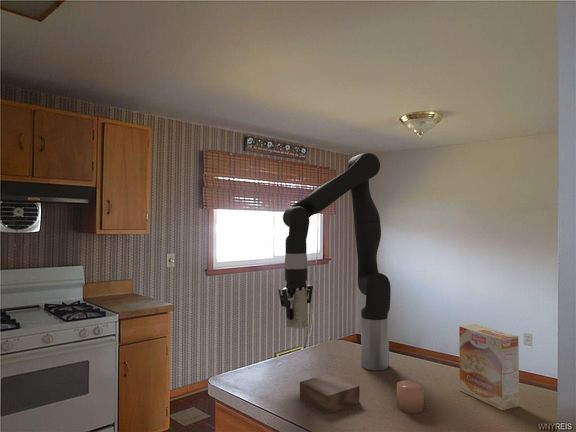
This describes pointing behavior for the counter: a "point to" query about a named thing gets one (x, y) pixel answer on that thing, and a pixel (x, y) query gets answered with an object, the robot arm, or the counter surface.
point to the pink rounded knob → (410, 396)
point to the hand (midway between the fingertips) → (296, 317)
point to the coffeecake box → (489, 365)
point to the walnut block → (329, 392)
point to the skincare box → (299, 311)
